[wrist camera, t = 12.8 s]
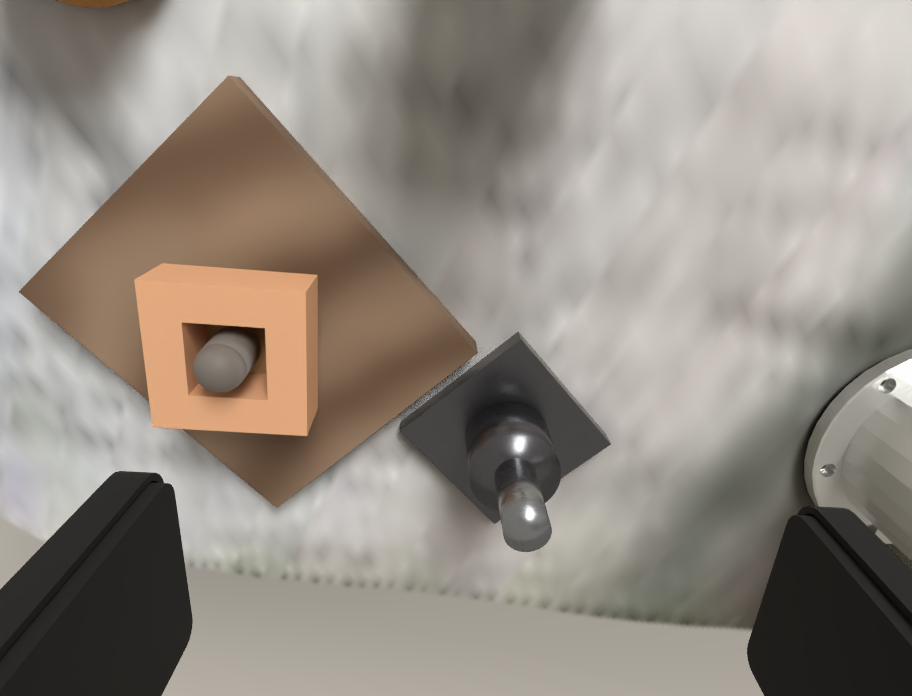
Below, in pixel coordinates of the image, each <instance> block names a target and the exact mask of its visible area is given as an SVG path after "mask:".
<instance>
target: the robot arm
mask: <svg viewBox="0 0 912 696" xmlns="http://www.w3.org/2000/svg"><path fill="white" fill-rule="evenodd" d="M804 477H805V482H806V486H807V490H808V493H809V495H810V497H811V499H812V501H813V502H814V504H815V506H807V507H803V508H802V509H801V510H800V511H799V513H798V515H794V516H792V517H791V518H790V519H789V520H788V522H787V525H786V528H785V531H784V534H783V537H782V540H781V543H780V546H779V550H778V553H777V556H776V559H775V562H774V565H773V568H772V571H771V574H770V577H769V581H768V584H767V587H766V590H765V593H764V596H763V599H762V602H761V605H760V608H759V612H758V615H757V618H756V621H755V624H754V627H753V630H752V633H751V637H750V640H749V643H748V648H747V655H748V661H749V665H750V668H751V671H752V673H753V675H754V677H755V679H756V681H757V682H758V684H759V686H760V688H761V690H762V692H763V694H764V696H912V570H911V569H910V568H909V567H908V566H907V565H906V564H905V563H904V562H903V561H902V560H901V559H900V558H899V557H898V556H897V555H896V554H895V553H894V552H893V551H892V550H891V549H890V548H889V547H888V546H887V545H886V544H894V545H895V546H896V547H897V548H898V549H899V550H900V551H901V552H902V553H903V554H904V555H905V556H906V557H907V558H909V559H910V560H911V561H912V349H909V350H907V351H904V352H902V353H899V354H897V355H895V356H892V357H890V358H887V359H885V360H884V361H882V362H880V363H878V364H877V365H875V366H873V367H872V368H870V369H868V370H867V371H865V372H864V373H862V374H861V375H860V376H859V377H857V378H856V379H855V380H854V381H852V382H851V383H850V384H849V385H847V386H846V387H845V388H844V389H843V390H842V391H841V392H840V393H839V395H838V396H837V397H836V398H835V399H834V400H833V401H832V402H831V403H830V404H829V406H828V407H827V409H826V410H825V412H824V413H823V415H822V416H821V418H820V419H819V421H818V422H817V424H816V426H815V428H814V431H813V433H812V435H811V437H810V439H809V442H808V447H807V451H806V455H805V459H804ZM191 630H192V613H191V605H190V598H189V591H188V584H187V577H186V570H185V563H184V556H183V549H182V542H181V535H180V528H179V521H178V513H177V506H176V499H175V493H174V489H173V487H172V485H171V484H168V483H164V482H163V479H162V477H161V476H160V475H159V474H157V473H146V472H127V471H119V472H115V473H114V474H112V475H111V476H110V477H109V478H108V479H107V480H106V481H105V482H104V483H103V484H102V485H101V486H100V487H99V488H98V489H97V490H96V491H95V492H94V493H93V494H92V495H91V496H90V497H89V498H88V499H87V500H86V502H85V503H84V504H83V505H82V506H81V507H80V508H79V509H78V510H77V511H76V512H75V513H74V514H73V515H72V516H71V517H70V518H69V519H68V520H67V521H66V522H65V523H64V524H63V525H62V526H61V527H60V528H59V529H58V530H57V531H56V533H55V534H54V535H53V536H52V537H51V538H50V539H49V540H48V541H47V542H46V543H45V544H44V545H43V546H42V547H41V548H40V549H39V550H38V551H37V552H36V553H35V554H34V555H33V556H32V557H31V558H30V559H29V561H28V562H26V564H25V565H24V566H23V567H22V568H21V569H20V570H19V571H18V572H17V573H16V574H15V575H14V576H13V577H12V578H11V579H10V580H9V581H8V582H7V583H6V584H5V585H4V586H3V587H2V588H1V590H0V696H161V695H162V693H163V691H164V689H165V687H166V685H167V684H168V681H169V680H170V678H171V676H172V674H173V672H174V670H175V668H176V666H177V664H178V662H179V660H180V658H181V656H182V654H183V652H184V650H185V648H186V646H187V644H188V641H189V639H190V635H191Z"/></svg>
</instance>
